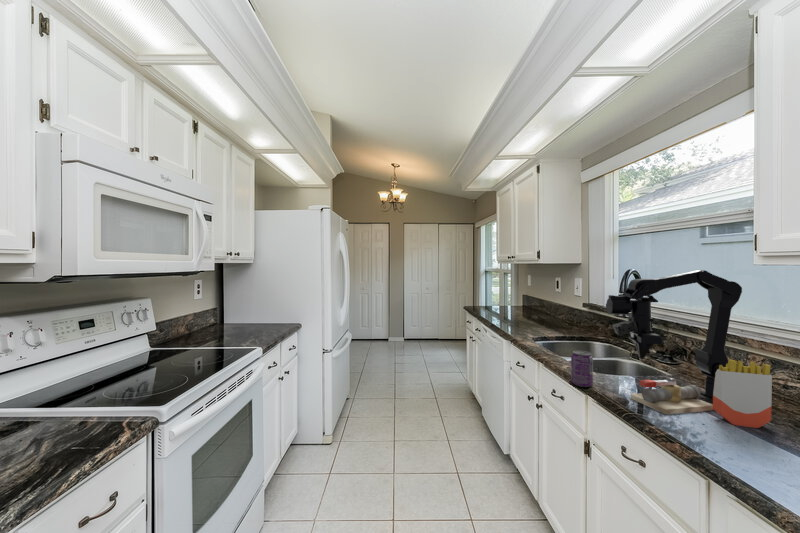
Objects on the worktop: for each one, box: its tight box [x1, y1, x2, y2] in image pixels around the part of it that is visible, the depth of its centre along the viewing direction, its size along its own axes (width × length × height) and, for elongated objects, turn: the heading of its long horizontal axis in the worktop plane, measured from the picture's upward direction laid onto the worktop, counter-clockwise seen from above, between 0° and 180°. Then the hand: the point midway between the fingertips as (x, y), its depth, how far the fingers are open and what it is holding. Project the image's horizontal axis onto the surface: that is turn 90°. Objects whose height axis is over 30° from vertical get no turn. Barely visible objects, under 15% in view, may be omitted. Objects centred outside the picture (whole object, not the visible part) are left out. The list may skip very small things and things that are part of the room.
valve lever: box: [638, 377, 677, 389], centre depth 105 cm, size 12×2×2 cm, turn 99°
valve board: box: [630, 384, 715, 415], centre depth 106 cm, size 18×12×6 cm, turn 101°
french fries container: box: [712, 358, 773, 429], centre depth 93 cm, size 5×11×18 cm, turn 73°
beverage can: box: [570, 350, 594, 388], centre depth 122 cm, size 7×7×12 cm
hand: (641, 358), depth 117 cm, fingers closed
